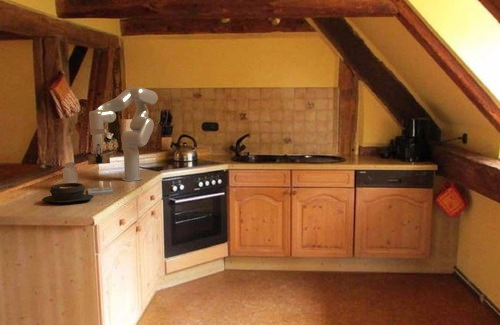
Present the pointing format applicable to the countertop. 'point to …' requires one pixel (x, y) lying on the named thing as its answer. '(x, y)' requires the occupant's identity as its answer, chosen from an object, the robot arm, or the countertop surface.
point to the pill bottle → (70, 173)
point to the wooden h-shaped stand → (93, 159)
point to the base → (96, 191)
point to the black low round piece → (67, 193)
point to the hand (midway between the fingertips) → (99, 162)
